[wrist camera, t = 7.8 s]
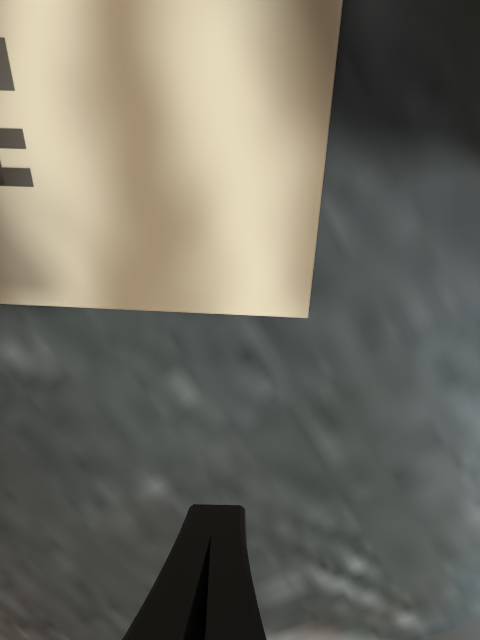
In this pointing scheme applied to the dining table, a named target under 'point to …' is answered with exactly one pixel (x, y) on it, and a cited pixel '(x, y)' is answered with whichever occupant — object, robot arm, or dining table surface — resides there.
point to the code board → (164, 152)
